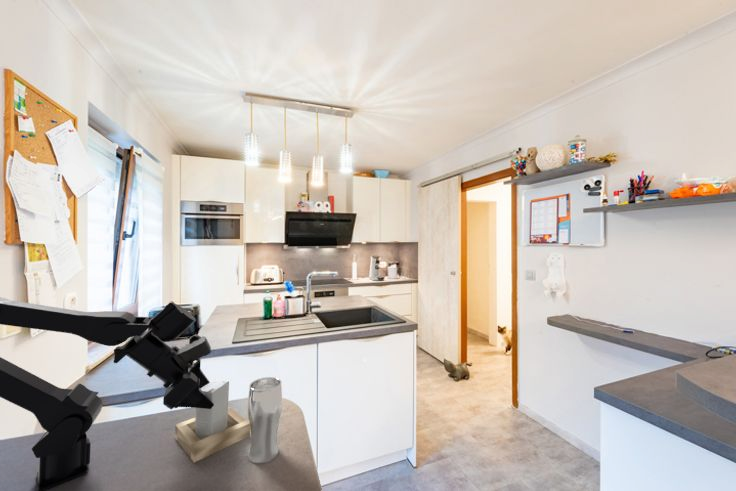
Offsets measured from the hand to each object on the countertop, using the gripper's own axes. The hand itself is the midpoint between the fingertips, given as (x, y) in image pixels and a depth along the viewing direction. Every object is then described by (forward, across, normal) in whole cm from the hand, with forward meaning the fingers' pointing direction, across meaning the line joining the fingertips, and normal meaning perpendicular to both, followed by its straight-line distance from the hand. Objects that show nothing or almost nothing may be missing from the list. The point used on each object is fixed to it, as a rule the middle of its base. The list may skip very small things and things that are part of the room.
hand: (212, 397), depth 69 cm
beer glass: (+14, -11, 0) cm, 18 cm away
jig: (+7, 0, +6) cm, 9 cm away
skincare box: (+7, 0, +6) cm, 9 cm away
